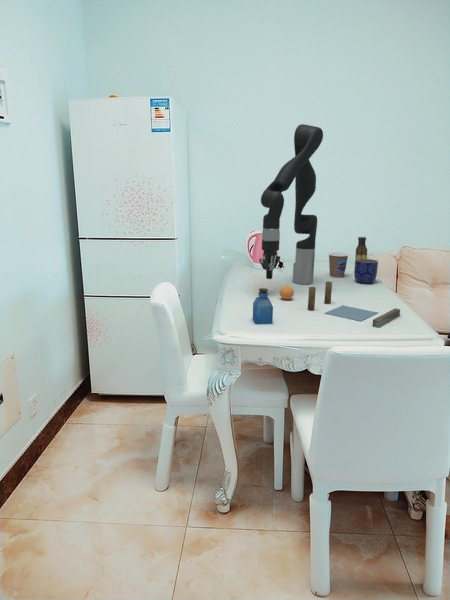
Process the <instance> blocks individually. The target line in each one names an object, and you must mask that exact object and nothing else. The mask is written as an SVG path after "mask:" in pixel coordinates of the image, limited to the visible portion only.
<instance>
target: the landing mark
mask: <svg viewBox="0 0 450 600" xmlns="http://www.w3.org/2000/svg"><path fill="white" fill-rule="evenodd" d="M324 314H325V315H330V316H334V317H338V318H342V319H346V320H347V319H348V320H353V321H356V322H360V323H361V322H363V321H365V320H367V319H369V318H371V317H373V316H375V315H377V314H379V312H377V311H373V310H368V309H363V308H358V307H353V306H348V305H344V304H343V305H340V306H338V307H335V308H333V309H331V310H328V311H325V312H324Z"/></svg>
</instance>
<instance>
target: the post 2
mask: <svg viewBox="0 0 450 600" xmlns="http://www.w3.org/2000/svg"><path fill="white" fill-rule="evenodd" d="M324 288H325V289H324V301H323V303H324V304H326V305H331V303H332V302H331V301H332V290H333V281H325V287H324Z"/></svg>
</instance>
